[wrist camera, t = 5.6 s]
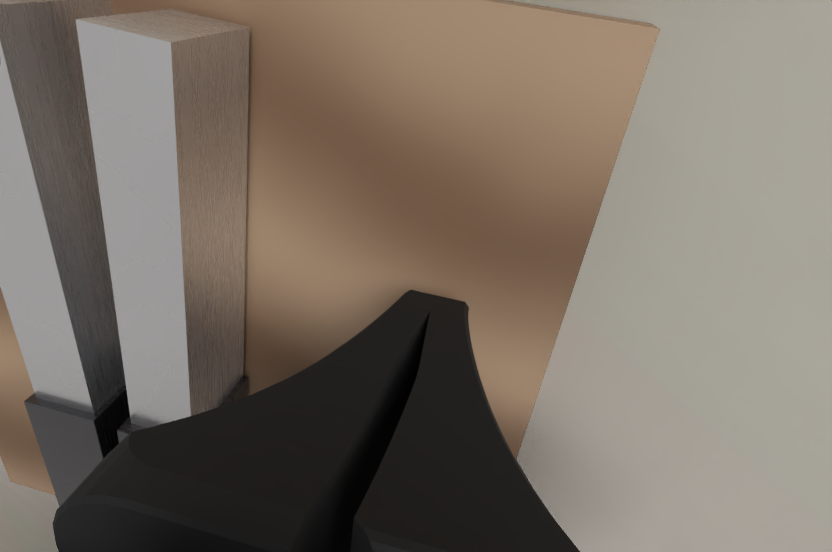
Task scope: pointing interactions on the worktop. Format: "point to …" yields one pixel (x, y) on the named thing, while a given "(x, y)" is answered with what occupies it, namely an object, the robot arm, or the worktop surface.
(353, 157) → the board
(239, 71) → the bar
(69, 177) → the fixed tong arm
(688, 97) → the worktop surface
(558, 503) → the worktop surface
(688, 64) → the worktop surface
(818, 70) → the worktop surface
